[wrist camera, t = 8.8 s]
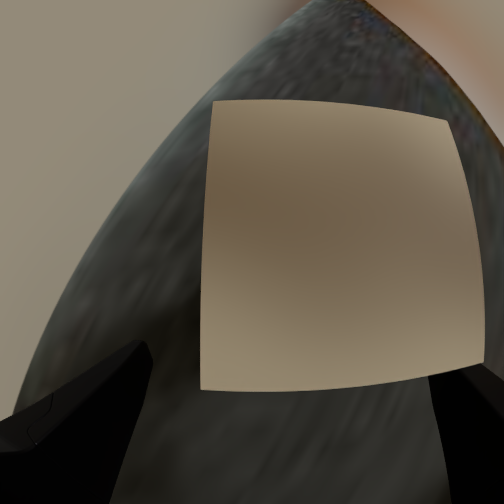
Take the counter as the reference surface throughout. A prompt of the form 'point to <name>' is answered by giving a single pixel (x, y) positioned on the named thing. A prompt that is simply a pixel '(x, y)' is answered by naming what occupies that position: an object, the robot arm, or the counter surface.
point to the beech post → (335, 249)
